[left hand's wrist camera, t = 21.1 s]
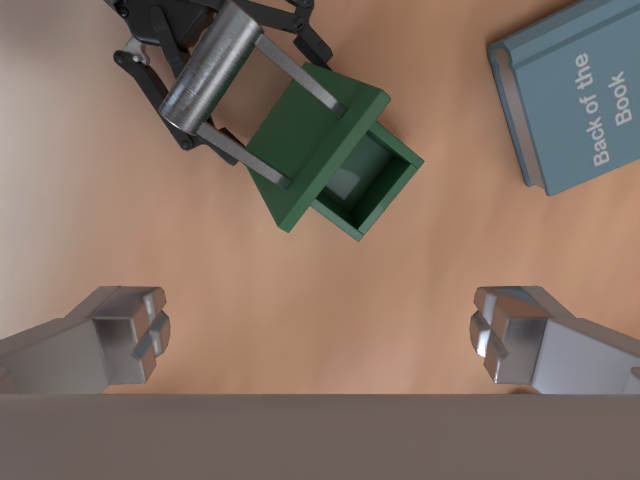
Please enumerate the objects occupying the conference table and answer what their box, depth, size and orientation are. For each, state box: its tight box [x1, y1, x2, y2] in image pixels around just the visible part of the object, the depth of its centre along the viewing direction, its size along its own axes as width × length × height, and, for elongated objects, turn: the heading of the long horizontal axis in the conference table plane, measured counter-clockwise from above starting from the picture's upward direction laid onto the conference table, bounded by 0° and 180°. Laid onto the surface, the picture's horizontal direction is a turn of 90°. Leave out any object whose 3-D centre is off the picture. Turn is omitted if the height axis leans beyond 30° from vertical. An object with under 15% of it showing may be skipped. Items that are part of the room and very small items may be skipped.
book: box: [488, 0, 640, 197], centre depth 38 cm, size 23×16×5 cm
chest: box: [310, 120, 425, 242], centre depth 39 cm, size 13×10×9 cm
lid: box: [158, 0, 391, 233], centre depth 25 cm, size 14×10×9 cm
